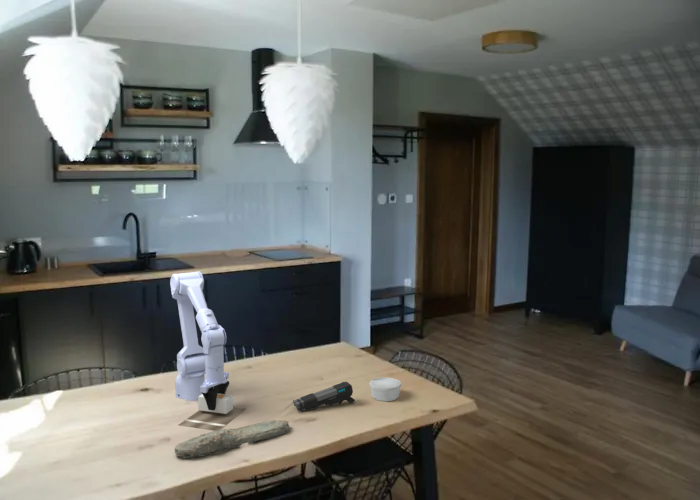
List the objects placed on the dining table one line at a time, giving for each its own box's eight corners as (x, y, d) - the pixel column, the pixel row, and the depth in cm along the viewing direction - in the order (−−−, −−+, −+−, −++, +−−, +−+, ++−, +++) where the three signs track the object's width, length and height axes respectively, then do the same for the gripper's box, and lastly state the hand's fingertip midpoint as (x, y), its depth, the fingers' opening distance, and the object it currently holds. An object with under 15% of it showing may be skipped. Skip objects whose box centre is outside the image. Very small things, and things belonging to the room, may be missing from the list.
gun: (358, 403, 203) (349, 377, 201) (306, 431, 197) (296, 405, 194) (352, 398, 207) (344, 373, 205) (301, 425, 201) (291, 400, 198)
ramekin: (391, 389, 217) (391, 375, 217) (407, 399, 207) (407, 385, 207) (363, 394, 212) (363, 379, 212) (378, 405, 203) (378, 390, 202)
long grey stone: (296, 439, 180) (281, 429, 188) (296, 422, 180) (281, 412, 188) (181, 464, 160) (169, 451, 169) (181, 445, 160) (170, 433, 168)
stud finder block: (198, 410, 192) (198, 396, 192) (205, 404, 197) (205, 391, 196) (226, 413, 189) (225, 399, 189) (233, 408, 194) (232, 394, 193)
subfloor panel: (178, 428, 183) (177, 424, 183) (208, 406, 201) (208, 403, 200) (218, 434, 179) (218, 431, 179) (246, 411, 196) (246, 408, 196)
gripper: (214, 374, 183) (215, 416, 185) (236, 360, 197) (237, 399, 199) (193, 372, 185) (195, 414, 187) (217, 358, 199) (218, 397, 201)
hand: (215, 406), depth 193 cm, fingers closed on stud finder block, 4 cm apart
